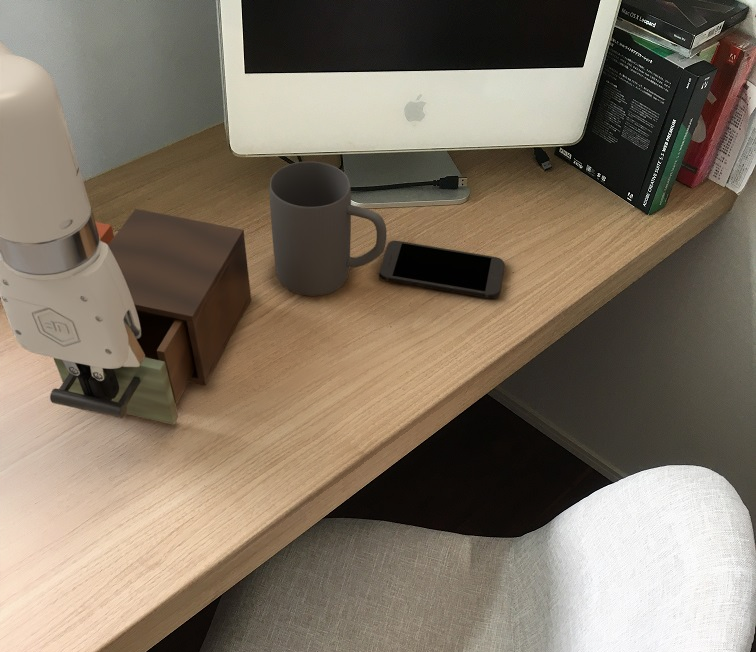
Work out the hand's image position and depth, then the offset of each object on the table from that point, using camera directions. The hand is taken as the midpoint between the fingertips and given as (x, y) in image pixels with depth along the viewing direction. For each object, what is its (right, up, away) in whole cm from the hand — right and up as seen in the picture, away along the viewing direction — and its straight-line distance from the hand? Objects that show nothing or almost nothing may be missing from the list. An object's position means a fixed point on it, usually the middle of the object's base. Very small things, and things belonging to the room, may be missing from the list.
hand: (104, 397), depth 76 cm
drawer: (+1, +2, +7) cm, 8 cm away
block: (-8, +19, +20) cm, 28 cm away
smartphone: (+34, +18, +21) cm, 45 cm away
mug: (+21, +17, +20) cm, 34 cm away
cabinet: (+4, +10, +13) cm, 17 cm away
